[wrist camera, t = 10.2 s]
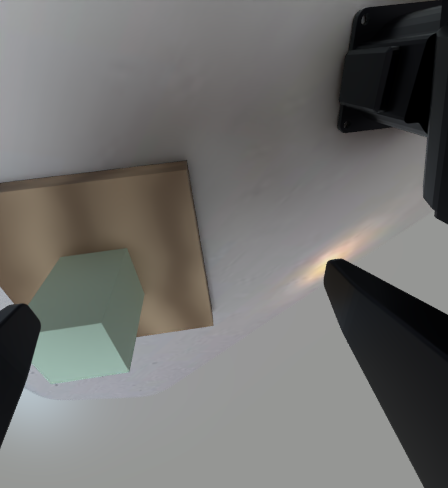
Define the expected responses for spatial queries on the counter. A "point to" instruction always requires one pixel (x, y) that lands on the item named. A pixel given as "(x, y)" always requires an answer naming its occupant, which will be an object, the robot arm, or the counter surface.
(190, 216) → the walnut base
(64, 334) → the sage block
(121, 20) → the counter surface
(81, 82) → the counter surface
